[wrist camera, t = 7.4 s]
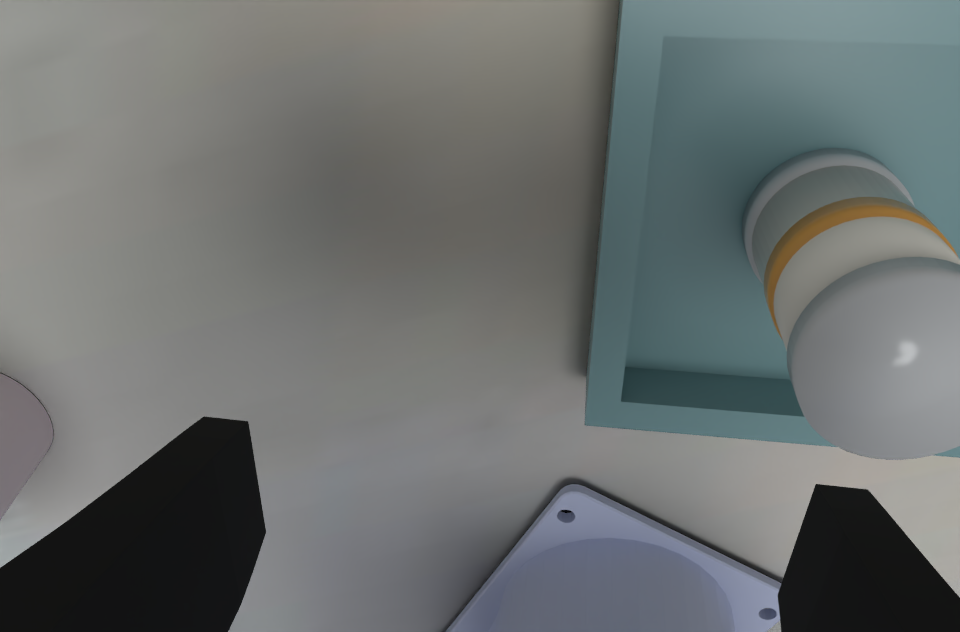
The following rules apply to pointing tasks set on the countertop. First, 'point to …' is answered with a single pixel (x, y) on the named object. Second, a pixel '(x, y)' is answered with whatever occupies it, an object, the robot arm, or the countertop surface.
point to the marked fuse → (860, 303)
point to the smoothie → (20, 438)
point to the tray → (745, 188)
